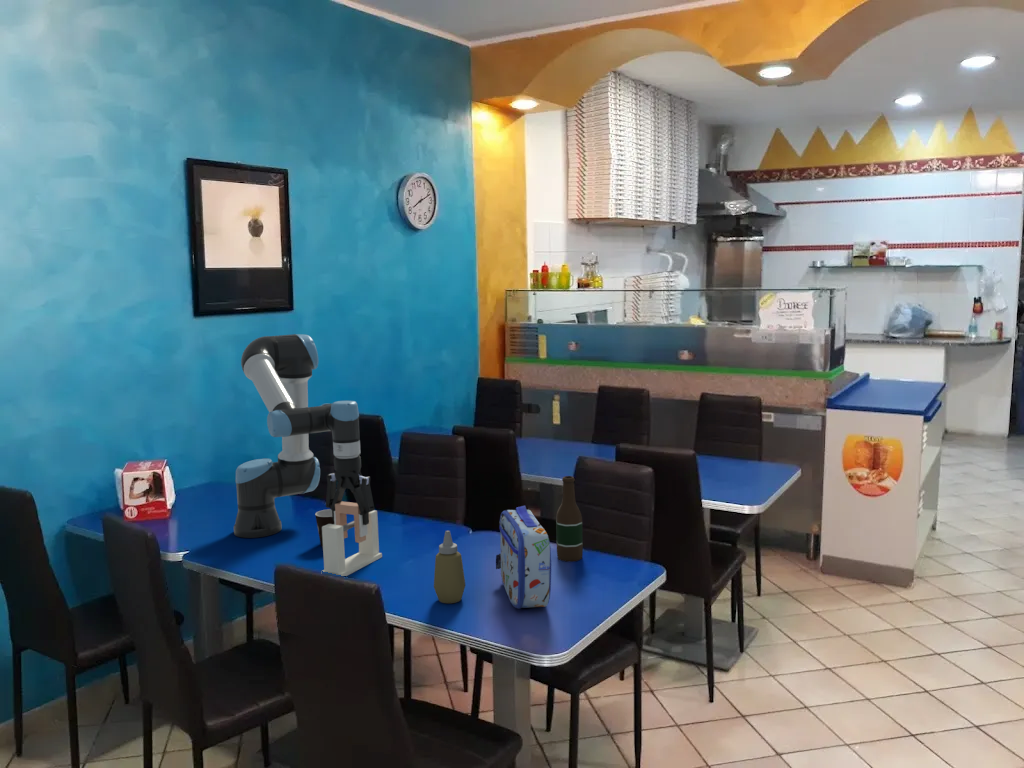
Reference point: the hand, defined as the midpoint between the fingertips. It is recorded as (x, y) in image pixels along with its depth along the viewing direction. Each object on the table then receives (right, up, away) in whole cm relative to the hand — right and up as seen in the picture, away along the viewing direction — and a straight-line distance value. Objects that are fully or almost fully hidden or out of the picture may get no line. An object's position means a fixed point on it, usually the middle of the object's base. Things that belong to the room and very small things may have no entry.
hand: (351, 533), depth 237 cm
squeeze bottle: (+30, -12, -26) cm, 42 cm away
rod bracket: (0, -9, +1) cm, 10 cm away
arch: (0, -2, 0) cm, 2 cm away
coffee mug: (-10, -7, +23) cm, 26 cm away
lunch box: (+49, -12, -24) cm, 56 cm away
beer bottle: (+63, -8, +4) cm, 63 cm away
